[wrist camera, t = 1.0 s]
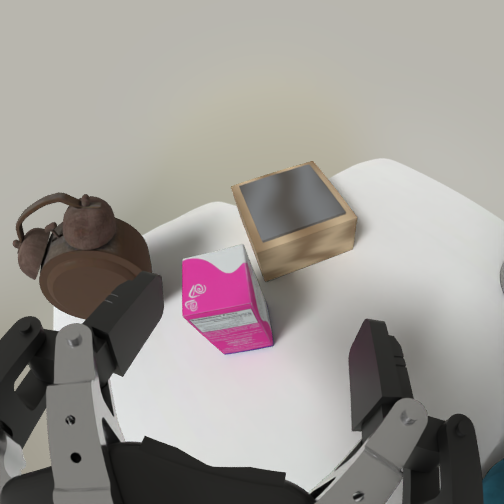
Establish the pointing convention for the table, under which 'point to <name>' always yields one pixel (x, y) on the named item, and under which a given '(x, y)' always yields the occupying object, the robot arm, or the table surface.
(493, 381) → the table surface
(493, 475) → the mask
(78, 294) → the alarm clock
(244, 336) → the supplement box
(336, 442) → the table surface
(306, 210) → the pedestal
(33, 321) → the robot arm
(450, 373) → the table surface
